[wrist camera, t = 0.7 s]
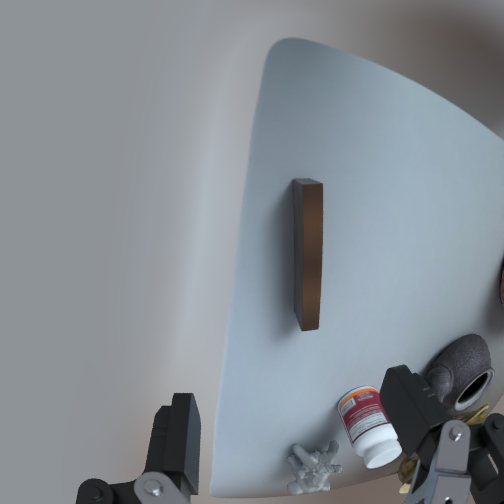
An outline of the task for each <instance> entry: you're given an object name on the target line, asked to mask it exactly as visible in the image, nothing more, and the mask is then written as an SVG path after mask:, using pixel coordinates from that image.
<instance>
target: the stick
mask: <svg viewBox="0 0 504 504" xmlns="http://www.w3.org/2000/svg"><path fill="white" fill-rule="evenodd" d="M293 208H294V312H295V315H296V318H297V320H298V323H299V326H300V328H301V331H310V330H317V329H318V328H319V314H320V297H321V277H322V247H323V184H322V183H320V182H318V181H315V180H313V179H310V178H307V179H293Z"/></svg>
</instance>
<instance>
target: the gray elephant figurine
mask: <svg viewBox="0 0 504 504" xmlns="http://www.w3.org/2000/svg"><path fill="white" fill-rule="evenodd" d="M338 447H339V446H338V443H337V442H336V441H335V440H332V441H330V443H329V448H328V450H327V451H325V450H324V451H322V452H319V451H317V449H315V452H314V453H310V454H309V453H308V452H307V451H305V450H304V449H303V447H302V445H301V444H299V443H297V444H295V445H294V446H293V451H294V453H295V454H296V455H297V456H298V457H299V458H300V459H301V461H302V462H301V461H300V460H299V459H298V458H297V457H296V456H294V455H290V456H288V457H287V459H286V460H287V462H288V463H290V464H291V466H292V470H293V473H294V475H295V478H296V481H291V482H289V483H288V485H287V490H288V491H289V493H290V494H292V495H298V494H301V493H303V492H306V493H311V492H317V491H318V490H322V491H325V490H329V489H330V483H329V480H328V479H327V478H328V477H329V475H331V474H339V473H340V472H341V470H342V466H341V465H335V466H333V462H334V459H335V457H336V454H337V452H338ZM331 469H335V472H332V470H331Z"/></svg>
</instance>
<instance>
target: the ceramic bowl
mask: <svg viewBox="0 0 504 504" xmlns="http://www.w3.org/2000/svg"><path fill="white" fill-rule="evenodd" d="M488 406H489V405H488V404H485V405H483V406H481V407H480V408H479V409H478V410H477V411H472V412H467V413H464V414H461V415H459V416H457V417H455V418H453V420H460V421H463V422H465V423H466V424H467V425H472V424H478V423H483V422H484V421H485V420H486V416H485V415H484V412H485V411H486V410H487V408H488ZM418 460H419V458H418V456H415V457H412V458H410V459H408V457H407V455H406V457H405V458H404V459H403V461H402V463H401V465H400V467H399V470H398V476H399V479H400V481H401V482H402V483H403V484H402V486H401V488H400V490H399V491H400V493H408V491H409V488H410V485H411V482H412V479H413V476H414V472H415V469H416V466H417V462H418Z"/></svg>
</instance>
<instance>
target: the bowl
mask: <svg viewBox="0 0 504 504" xmlns="http://www.w3.org/2000/svg"><path fill="white" fill-rule="evenodd" d="M501 301H502V304H503V307H504V269H503V274H502V281H501Z"/></svg>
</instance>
